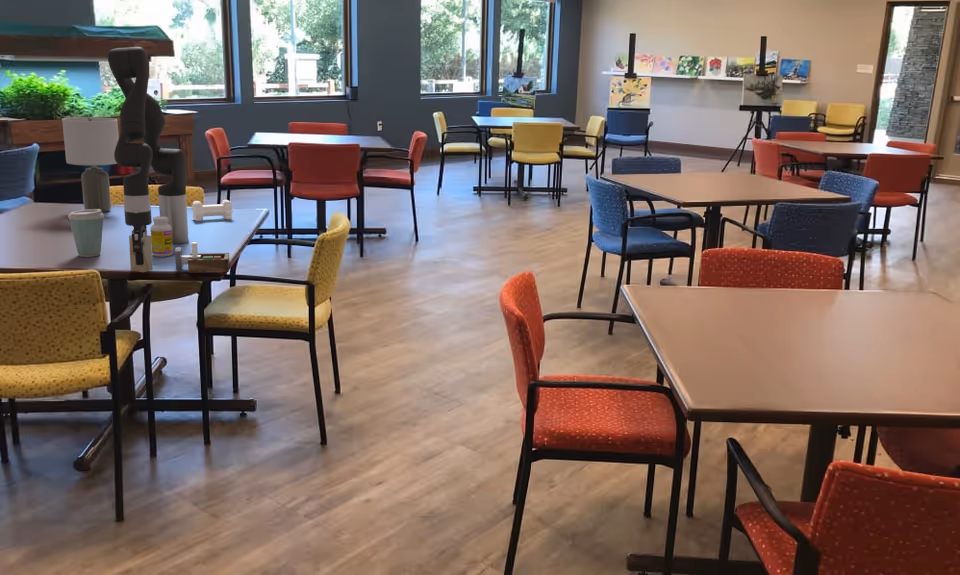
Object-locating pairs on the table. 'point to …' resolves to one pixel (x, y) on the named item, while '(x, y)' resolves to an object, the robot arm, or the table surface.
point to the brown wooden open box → (209, 263)
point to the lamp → (92, 155)
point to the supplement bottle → (161, 237)
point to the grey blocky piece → (185, 256)
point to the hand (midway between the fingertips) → (141, 261)
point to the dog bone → (212, 210)
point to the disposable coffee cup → (87, 231)
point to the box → (146, 254)
